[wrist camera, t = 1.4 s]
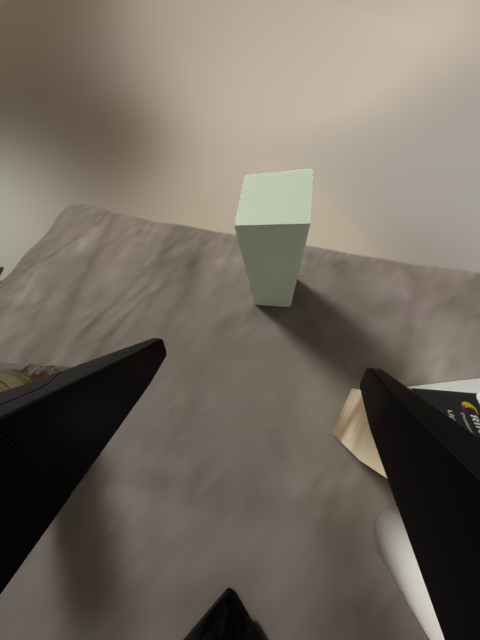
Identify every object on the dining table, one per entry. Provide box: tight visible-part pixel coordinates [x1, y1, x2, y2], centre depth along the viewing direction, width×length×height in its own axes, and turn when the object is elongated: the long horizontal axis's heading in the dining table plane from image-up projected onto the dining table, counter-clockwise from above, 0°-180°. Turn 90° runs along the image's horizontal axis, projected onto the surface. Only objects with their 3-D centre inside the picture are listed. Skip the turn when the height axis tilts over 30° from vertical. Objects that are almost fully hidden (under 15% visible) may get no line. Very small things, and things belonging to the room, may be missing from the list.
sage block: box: [234, 168, 313, 307], centre depth 17 cm, size 5×5×13 cm
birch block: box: [332, 388, 387, 478], centre depth 14 cm, size 5×5×6 cm
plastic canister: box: [374, 506, 445, 640], centre depth 11 cm, size 5×5×7 cm
